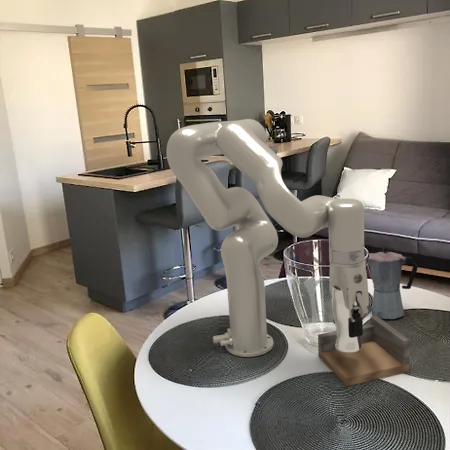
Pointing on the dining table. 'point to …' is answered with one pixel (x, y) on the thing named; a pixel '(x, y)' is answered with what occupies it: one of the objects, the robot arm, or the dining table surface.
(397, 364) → the wooden corner tray
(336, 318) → the beer glass
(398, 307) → the moka pot
